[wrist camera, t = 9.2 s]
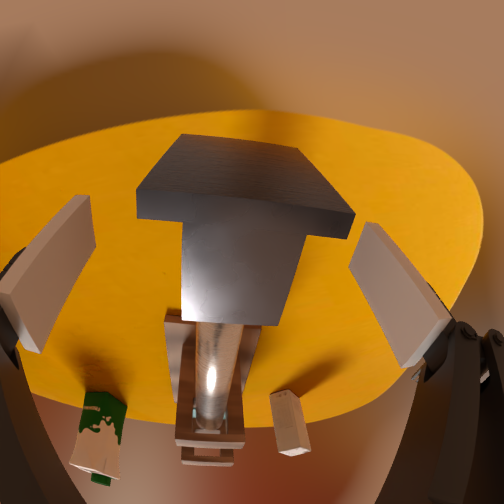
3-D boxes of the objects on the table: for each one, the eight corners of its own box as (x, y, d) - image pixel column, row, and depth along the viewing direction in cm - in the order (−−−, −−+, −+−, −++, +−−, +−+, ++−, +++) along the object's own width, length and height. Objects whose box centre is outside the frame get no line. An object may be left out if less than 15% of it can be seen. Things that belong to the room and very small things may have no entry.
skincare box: (267, 394, 47) (275, 453, 37) (290, 387, 46) (300, 447, 36) (281, 404, 51) (289, 457, 41) (301, 397, 50) (312, 451, 40)
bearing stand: (237, 401, 48) (242, 470, 36) (175, 397, 46) (170, 467, 34) (260, 321, 35) (274, 429, 23) (165, 314, 33) (148, 423, 21)
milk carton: (105, 408, 51) (94, 482, 34) (79, 389, 46) (62, 470, 29) (133, 408, 50) (124, 489, 33) (107, 388, 45) (91, 478, 28)
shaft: (237, 392, 32) (241, 457, 25) (181, 389, 31) (178, 454, 24) (297, 148, 16) (355, 214, 9) (181, 133, 15) (136, 189, 8)
